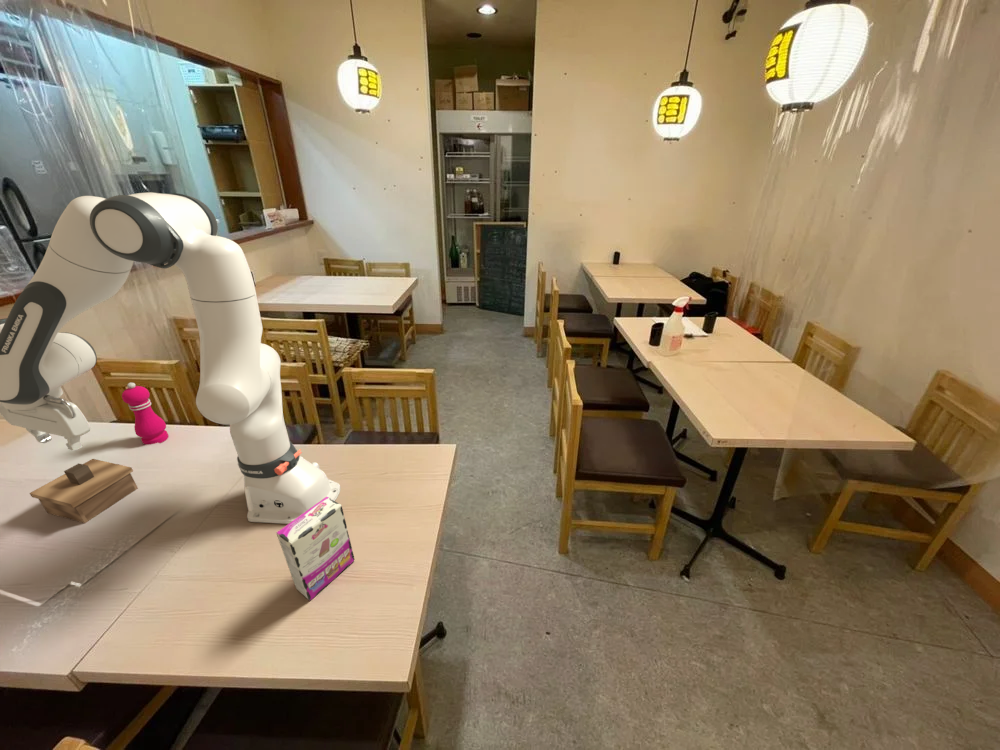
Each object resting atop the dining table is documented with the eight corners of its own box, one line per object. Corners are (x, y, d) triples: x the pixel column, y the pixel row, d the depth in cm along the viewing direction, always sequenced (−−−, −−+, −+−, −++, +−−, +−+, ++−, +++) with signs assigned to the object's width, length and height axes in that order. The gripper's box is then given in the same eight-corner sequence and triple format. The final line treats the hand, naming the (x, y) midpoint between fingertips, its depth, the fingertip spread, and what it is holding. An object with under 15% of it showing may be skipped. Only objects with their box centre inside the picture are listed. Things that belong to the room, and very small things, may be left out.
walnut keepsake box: (139, 489, 104) (129, 472, 101) (86, 524, 93) (74, 505, 91) (104, 481, 106) (94, 463, 104) (48, 514, 96) (36, 496, 93)
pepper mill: (154, 448, 119) (127, 390, 110) (134, 445, 120) (106, 387, 111) (176, 434, 125) (152, 378, 116) (157, 431, 127) (132, 375, 118)
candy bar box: (340, 550, 88) (327, 494, 81) (355, 560, 86) (343, 504, 79) (293, 589, 80) (274, 531, 72) (309, 602, 78) (291, 543, 70)
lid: (133, 471, 101) (125, 456, 99) (73, 507, 90) (63, 492, 88) (94, 462, 104) (86, 447, 102) (31, 497, 93) (21, 481, 91)
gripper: (84, 393, 86) (110, 444, 92) (16, 379, 90) (45, 430, 97) (48, 407, 81) (78, 461, 87) (-23, 392, 85) (11, 445, 91)
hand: (60, 445), depth 92 cm, fingers open, 8 cm apart
